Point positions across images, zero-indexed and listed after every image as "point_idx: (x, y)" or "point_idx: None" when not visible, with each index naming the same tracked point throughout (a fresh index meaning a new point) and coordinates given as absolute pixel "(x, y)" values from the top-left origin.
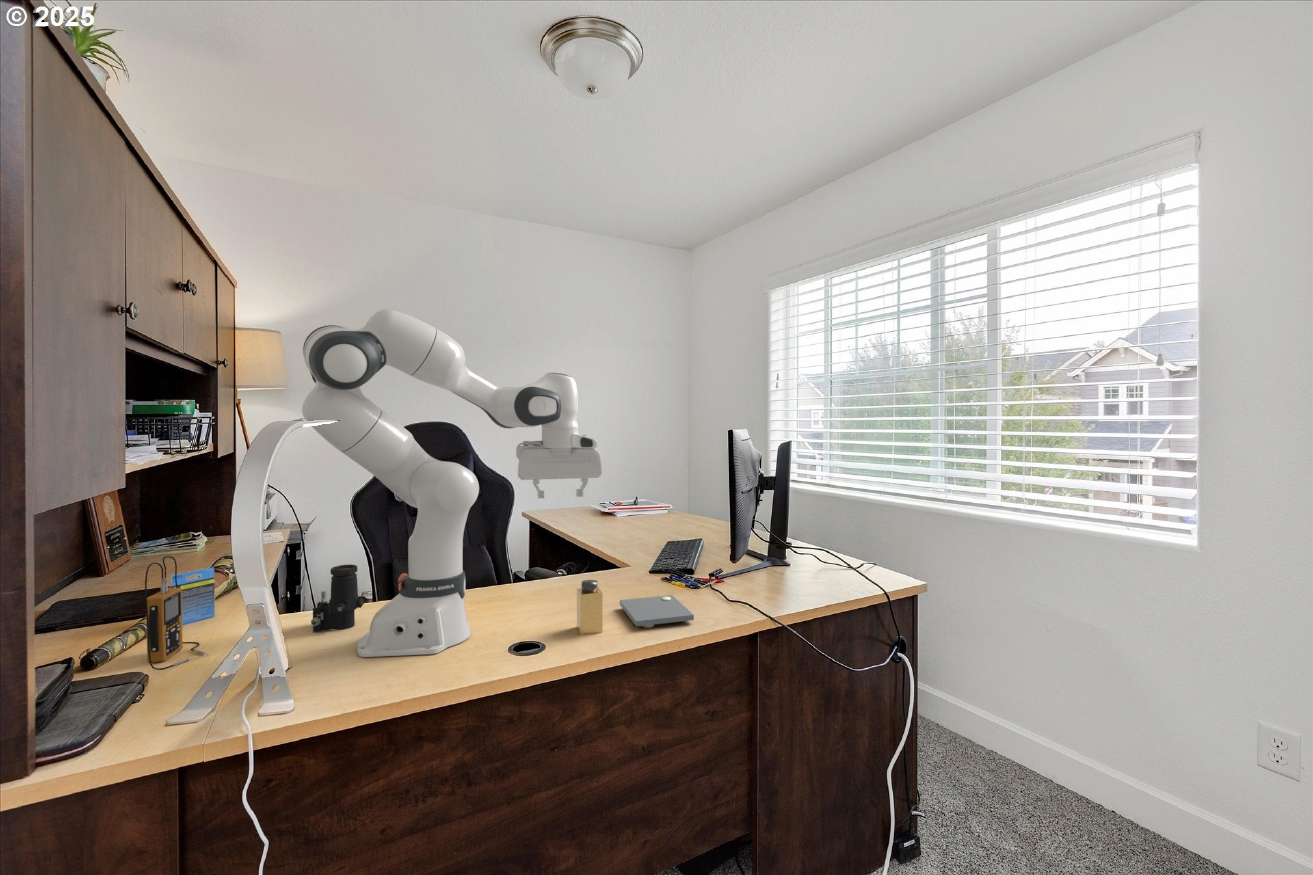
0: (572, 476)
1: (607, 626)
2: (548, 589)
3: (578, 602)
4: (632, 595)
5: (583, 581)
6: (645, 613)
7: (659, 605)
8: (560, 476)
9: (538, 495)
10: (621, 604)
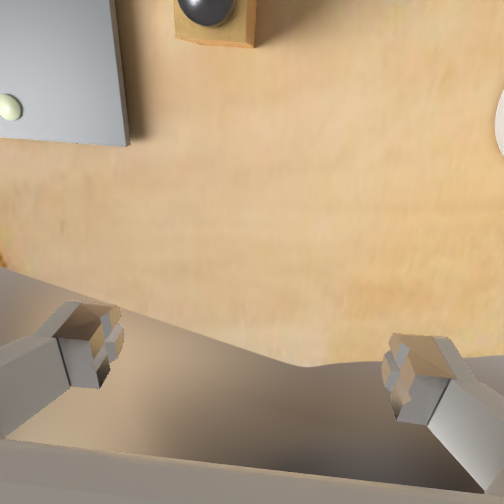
0: (51, 467)
1: None
2: (261, 316)
3: (250, 7)
4: (95, 220)
5: (223, 6)
6: (70, 6)
7: (29, 62)
8: (248, 498)
9: (455, 348)
10: (126, 126)
